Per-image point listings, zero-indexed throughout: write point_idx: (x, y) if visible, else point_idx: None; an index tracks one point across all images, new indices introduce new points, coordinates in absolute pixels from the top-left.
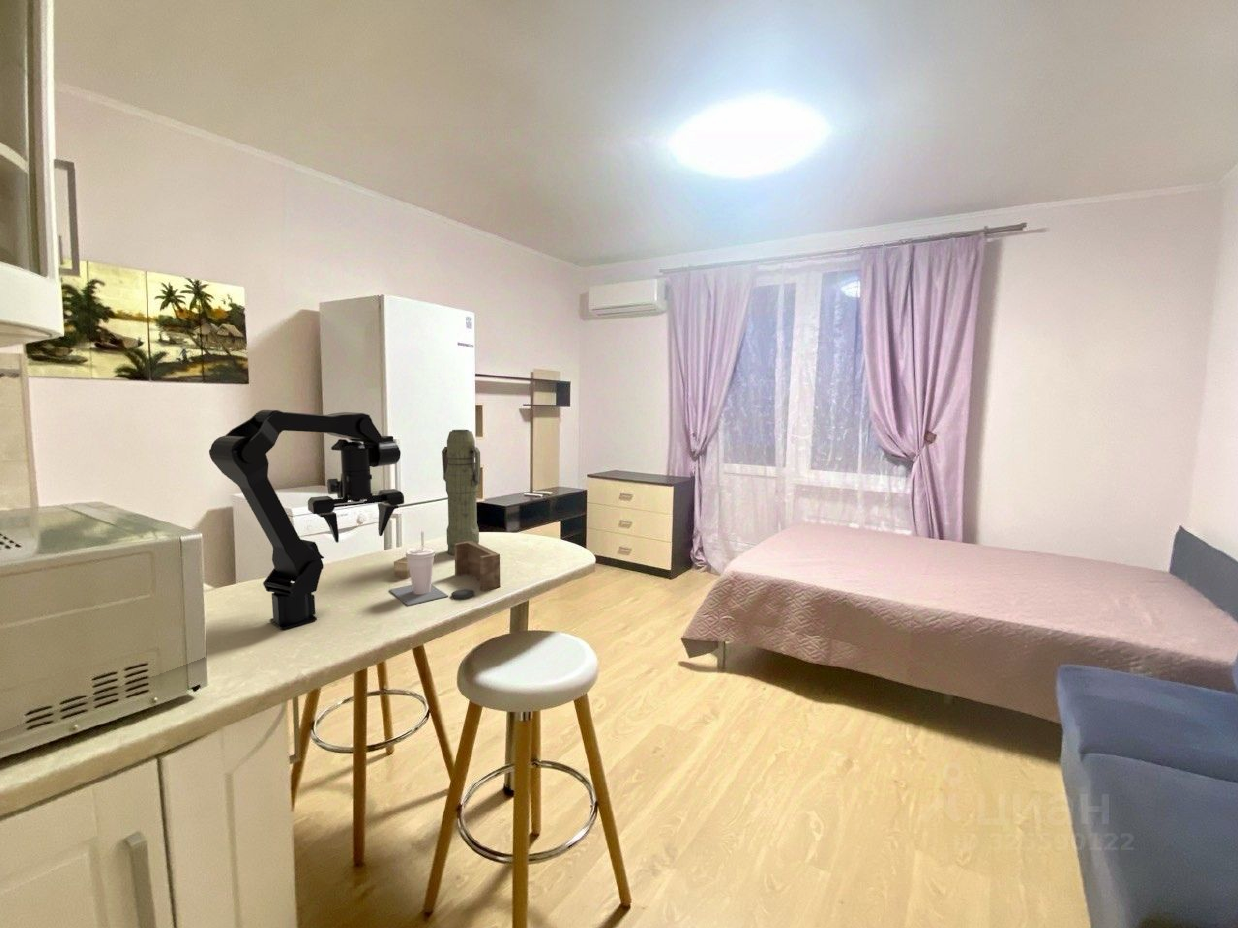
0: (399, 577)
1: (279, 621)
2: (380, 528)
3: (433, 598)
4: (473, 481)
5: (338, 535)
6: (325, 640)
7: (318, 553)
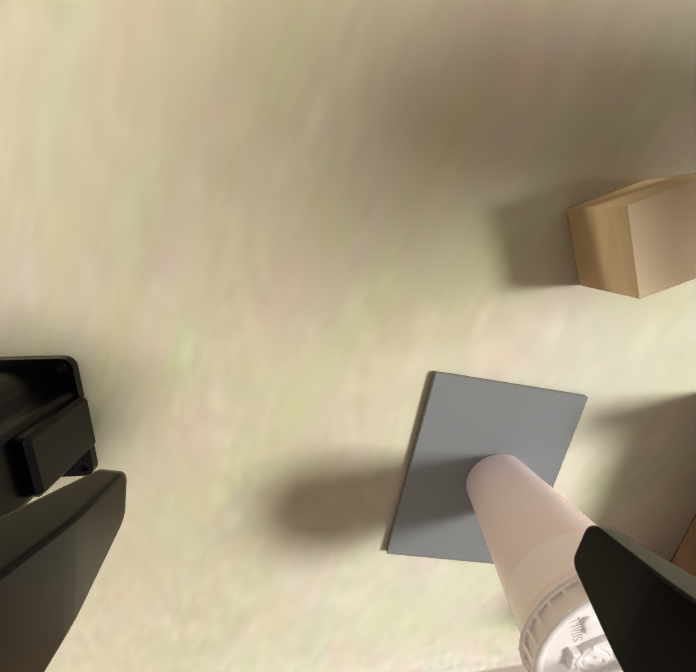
0: (571, 238)
1: None
2: (639, 662)
3: (476, 557)
4: None
5: (58, 643)
6: (77, 615)
7: None
